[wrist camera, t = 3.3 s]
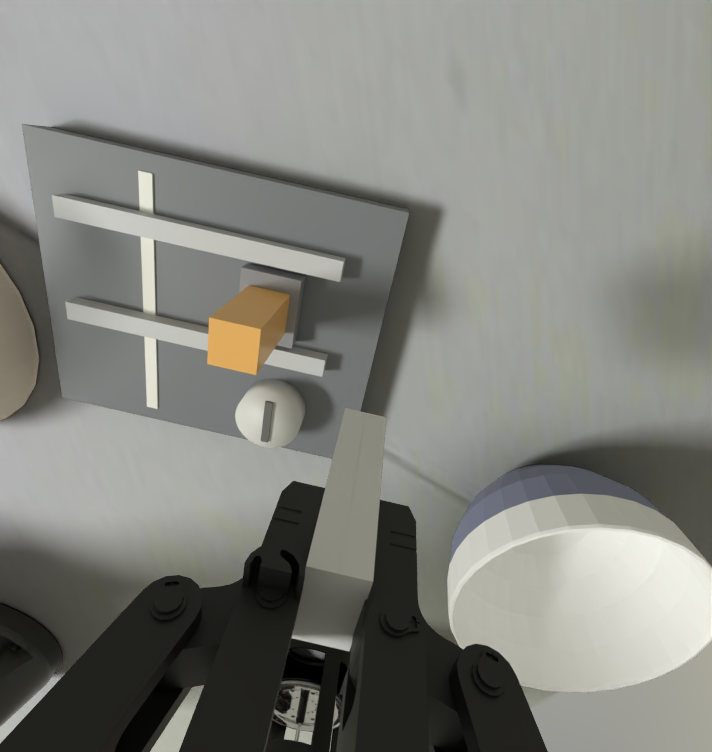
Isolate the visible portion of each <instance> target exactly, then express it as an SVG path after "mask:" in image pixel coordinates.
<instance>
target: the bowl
mask: <svg viewBox="0 0 712 752" xmlns="http://www.w3.org/2000/svg"><path fill="white" fill-rule="evenodd" d="M447 588H448V614H449V621H450V628H451V631H452V633H453V635H454V637H455V639H456V641H457V643H458V645H459V647H460V648H462V649H464V648H465V647H466V646H469V645H473V644H481V645H486V646H489V647H491V648H492V649H494V650H496V651H498V652H499V653H500V654H501V655H502V656H503V657H504V658H505V659H506V660H507V661H508V662H509V663H510V665H511V667H512V669H513V670H514V672H515V674H516V676H517V678H518V680H519V683H520V685H522V686H526V687H530V688H535V689H539V690H547V691H556V692H597V691H607V690H614V689H619V688H624V687H629V686H634V685H637V684H640V683H643V682H646V681H649V680H652V679H655V678H658V677H660V676H662V675H664V674H667V673H669V672H671V671H673V670H675V669H677V668H679V667H680V666H682V665H683V664H685V663H686V662H688V661H689V660H691V659H692V658H694V657H695V656H697V655H698V654H699V653H700V652H701V651H702V649H704V648H705V647H706V646H707V645H708V644H709V643H710V642H711V641H712V566H711V565H710V564H709V563H708V561H707V560H706V559H705V558H704V557H703V556H702V554H701V553H700V552H699V551H698V550H697V549H696V547H695V546H694V545H693V544H692V543H691V542H690V540H689V539H688V538H687V537H686V536H685V535H684V534H683V532H682V531H681V530H680V529H679V528H678V527H677V526H676V525H675V523H674V522H672V521H671V520H669V519H668V518H667V517H666V516H665V515H664V514H663V513H662V512H660V511H659V510H658V509H657V508H656V507H655V506H654V505H653V504H651V503H650V502H649V501H648V500H647V499H646V498H644V497H643V496H641V495H640V494H639V493H637V492H636V491H634V490H633V489H631V488H630V487H627V486H625V485H623V484H620V483H618V482H615V481H613V480H611V479H608V478H606V477H604V476H601V475H599V474H597V473H594V472H592V471H589V470H586V469H581V468H577V467H573V466H559V465H531V466H526V467H522V468H518V469H516V470H513V471H511V472H508V473H506V474H505V475H503V476H501V477H500V478H498V479H497V480H496V481H495V482H493V483H492V484H490V485H489V486H487V487H486V488H485V489H484V490H483V491H482V492H481V493H479V494H478V495H477V496H476V498H475V499H474V500H473V502H472V503H471V504H470V506H469V507H468V509H467V511H466V513H465V514H464V516H463V518H462V520H461V521H460V523H459V525H458V527H457V530H456V532H455V534H454V537H453V541H452V547H451V555H450V564H449V571H448V578H447Z"/></svg>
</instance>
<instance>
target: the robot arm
mask: <svg viewBox="0 0 712 752" xmlns="http://www.w3.org/2000/svg"><path fill="white" fill-rule="evenodd" d="M385 430H386V417H383V416H378V415H374V414H370V413H365V412H361V411H357V410H352V409H348V408H345V411H344V415H343V419H342V423H341V427H340V431H339V435H338V439H337V443H336V447H335V451H334V455H333V459H332V463H331V467H330V471H329V475H328V479H327V483H326V487H325V488H322V487H317V486H313V485H309V484H304V483H300V482H296V481H293V482H292V483H291V484H289V485H288V486H287V487H286V488H285V489H284V490H283V491H282V493H281V495H280V498H279V501H278V503H277V507H276V509H275V511H274V514H273V517H272V520H271V522H270V525H269V527H268V530H267V533H266V535H265V538H264V541H263V543H262V546H261V547H259V548H258V549H256V550H255V551H253V552H252V553H251V554H250V555H249V557H248V558H247V560H246V562H245V566H244V574H243V578H242V579H240V580H239V581H237V582H235V583H232V584H230V585H226V586H220V587H210V588H199V586H198V584H196V583H195V582H194V581H193V580H192V579H190V578H187V577H183V576H180V575H177V576H166V577H164V578H161V579H159V580H156V581H154V582H153V583H151V584H150V585H149V586H147V587H146V588H145V589H144V590H143V591H142V592H141V593H140V594H139V595H138V596H137V597H136V598H135V599H134V600H133V601H132V602H131V604H130V605H129V606H128V607H127V608H126V609H125V610H124V611H123V612H122V613H121V614H120V615H119V616H118V618H117V619H116V620H115V621H114V622H113V623H112V624H111V625H110V626H109V627H108V628H107V629H106V630H105V632H104V633H103V634H102V635H101V636H100V637H99V638H98V639H97V640H96V641H95V642H94V643H93V644H92V646H91V647H90V648H89V649H88V650H87V651H86V652H85V653H84V654H83V655H82V656H81V657H80V658H79V660H78V661H77V662H76V663H75V664H74V665H73V666H72V667H71V668H70V669H69V670H68V671H67V672H66V674H65V675H64V676H63V677H62V678H61V679H60V680H59V681H58V682H57V683H56V684H55V685H54V687H53V688H52V689H51V690H50V691H49V692H48V693H47V694H46V695H45V696H44V697H43V698H42V699H41V701H40V702H39V703H38V704H37V705H36V706H35V707H34V708H33V709H32V710H31V711H30V712H29V713H28V715H27V716H26V717H25V718H24V719H23V720H22V721H21V722H20V723H19V724H18V725H17V726H16V727H15V729H14V730H13V731H12V732H11V733H10V734H9V735H8V736H7V737H6V738H5V739H4V740H3V741H2V743H1V744H0V752H150V751H151V749H152V747H153V746H154V744H155V743H156V741H157V740H158V738H159V737H160V735H161V734H162V732H163V731H164V729H165V728H166V726H167V724H168V723H169V721H170V720H171V718H172V717H173V715H174V714H175V712H176V711H177V709H178V708H179V706H180V705H181V703H182V701H183V700H184V698H185V697H186V695H187V694H188V692H189V691H190V689H191V688H192V687H194V686H200V685H204V688H203V690H202V693H201V696H200V698H199V701H198V703H197V706H196V709H195V711H194V714H193V716H192V719H191V722H190V724H189V727H188V730H187V732H186V735H185V737H184V740H183V743H182V745H181V748H180V750H179V752H265V749H266V745H267V741H268V736H269V732H270V728H271V724H272V720H273V715H274V711H275V707H276V703H277V699H278V694H279V690H280V686H281V682H282V678H283V673H284V669H285V665H286V660H287V656H288V651H289V647H290V643H291V639H292V638H293V639H298V640H302V641H306V642H311V643H315V644H319V645H323V646H328V647H332V648H336V649H341V650H345V651H350V648H351V645H352V648H351V656H350V664H349V667H348V670H347V673H346V676H345V678H344V681H343V684H342V687H341V690H340V695H343V699H342V708H341V716H340V724H339V732H338V740H337V748H336V752H548V751H547V749H546V747H545V744H544V742H543V739H542V737H541V734H540V732H539V729H538V727H537V725H536V722H535V720H534V717H533V715H532V712H531V710H530V707H529V705H528V702H527V700H526V698H525V695H524V693H523V690H522V688H521V685H520V683H519V680H518V678H517V676H516V674H515V672H514V670H513V669H512V667H511V665H510V663H509V662H508V661H507V660H506V659H505V658H504V657H503V656H502V655H501V654H500V653H499V652H498V651H496V650H494V649H492V648H491V647H489V646H486V645H481V644H473V645H469V646H466V647H465V648H464V649H462V648H460V647H458V646H457V645H455V644H453V643H452V642H450V641H448V640H447V639H445V638H443V637H442V636H440V635H439V634H438V633H436V632H435V631H434V630H433V629H432V628H431V627H430V626H429V625H428V624H427V622H426V621H425V619H424V618H423V616H422V614H421V611H420V609H419V605H418V594H417V552H416V521H415V519H414V517H413V514H412V512H411V510H410V508H409V507H408V506H404V505H400V504H395V503H391V502H387V501H382V500H380V491H381V479H382V467H383V454H384V442H385ZM61 661H62V652H61V649H60V647H59V645H58V643H57V642H56V640H55V639H54V638H53V636H52V635H51V634H50V633H49V632H48V631H47V630H46V629H44V628H43V627H42V626H41V625H39V624H38V623H37V622H35V621H34V620H32V619H31V618H29V617H27V616H26V615H24V614H22V613H20V612H18V611H16V610H14V609H11V608H9V607H6V606H4V605H1V604H0V726H2V725H3V724H4V723H5V722H6V721H7V720H8V719H9V718H10V717H11V716H12V715H13V714H15V713H16V712H17V711H18V710H19V709H20V708H21V707H22V706H23V705H24V704H25V703H27V702H28V701H29V700H30V699H31V698H32V697H33V696H34V695H35V694H36V693H37V692H38V691H40V690H41V689H42V688H43V687H44V686H45V685H46V684H47V683H48V681H49V680H50V678H51V677H52V675H53V674H54V673H55V671H56V670H57V668H58V667H59V665H60V664H61Z"/></svg>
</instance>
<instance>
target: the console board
mask: <svg viewBox="0 0 712 752" xmlns="http://www.w3.org/2000/svg"><path fill="white" fill-rule="evenodd" d="M22 129H23V135H24V142H25V149H26V156H27V163H28V169H29V176H30V183H31V190H32V196H33V203H34V210H35V217H36V224H37V230H38V237H39V244H40V251H41V258H42V264H43V271H44V278H45V285H46V292H47V298H48V305H49V312H50V319H51V325H52V332H53V339H54V346H55V353H56V359H57V366H58V373H59V380H60V387H61V393H62V398H66V399H71V400H75V401H80V402H84V403H88V404H93V405H97V406H102V407H106V408H110V409H115V410H119V411H124V412H128V413H133V414H137V415H141V416H146V417H150V418H155V419H159V420H164V421H168V422H172V423H177V424H181V425H186V426H190V427H194V428H199V429H203V430H208V431H212V432H217V433H221V434H225V435H230V436H234V437H239V438H243V439H247V440H249V441H251V442H253V443H254V444H256V445H259V446H262V447H267V448H278V447H283V448H287V449H292V450H296V451H300V452H305V453H309V454H314V455H318V456H323V457H327V458H331V459H333V455H334V451H335V447H336V443H337V439H338V435H339V431H340V427H341V423H342V419H343V415H344V411H345V408H348V409H352V410H357V411H361V407H362V403H363V399H364V395H365V391H366V387H367V383H368V379H369V375H370V371H371V366H372V362H373V358H374V354H375V350H376V346H377V342H378V338H379V334H380V330H381V326H382V322H383V318H384V314H385V310H386V306H387V301H388V297H389V293H390V289H391V285H392V281H393V277H394V273H395V269H396V265H397V261H398V257H399V253H400V249H401V245H402V241H403V237H404V232H405V228H406V224H407V220H408V216H409V209H405V208H401V207H397V206H392V205H388V204H384V203H379V202H375V201H371V200H366V199H362V198H357V197H353V196H349V195H344V194H340V193H336V192H331V191H327V190H323V189H318V188H314V187H309V186H305V185H301V184H296V183H292V182H288V181H283V180H279V179H275V178H270V177H266V176H261V175H257V174H253V173H248V172H244V171H240V170H235V169H231V168H227V167H222V166H218V165H213V164H209V163H205V162H200V161H196V160H192V159H187V158H183V157H178V156H174V155H170V154H165V153H161V152H157V151H152V150H148V149H144V148H139V147H135V146H130V145H126V144H122V143H117V142H113V141H109V140H104V139H100V138H96V137H91V136H87V135H82V134H78V133H74V132H69V131H65V130H61V129H56V128H52V127H46V126H35V125H25V124H22ZM247 263H248V264H252V265H257V266H261V267H265V268H270V269H274V270H279V271H283V272H287V273H292V274H296V275H300V276H305V282H304V289H303V296H302V302H301V309H300V316H299V323H298V330H297V336H296V342H295V344H294V346H293V347H292V349H291V348H286V347H282V346H278V345H277V346H276V347H275V348H274V350H273V351H272V353H271V354H270V356H269V357H268V359H267V360H266V362H265V363H264V365H263V366H262V367H261V369H260V370H259V372H258V373H257V375H253V374H249V373H244V372H240V371H236V370H231V369H227V368H222V367H218V366H214V365H209V364H207V357H208V332H209V317H210V316H212V315H213V314H214V313H215V312H216V311H218V310H219V309H220V308H221V307H223V306H224V305H225V304H226V303H228V302H229V301H230V300H231V299H233V298H234V297H235V296H236V295H238V294H239V289H240V275H241V267H242V266H244V265H246V264H247Z"/></svg>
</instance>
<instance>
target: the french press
mask: <svg viewBox="0 0 712 752" xmlns="http://www.w3.org/2000/svg"><path fill="white" fill-rule="evenodd" d="M294 648H304V649H312V650H317V651H320V652H324V653H325V659H324V662H322V663H319V662H311V661H307V660H303V659H301V658H299V657H297V656H295V655H293V654H292V653H291V652H290V651H288V656H287V660H286V665H285V669H284V673H283V678H282V682H281V686H280V690H279V694H278V699H277V703H276V707H275V711H274V715H273V720H272V724H271V728H270V732H269V736H268V741H267V745H266V749H265V752H329V749H330V741H331V733H332V729H333V733H332V741H331V749H330V752H336V748H337V740H338V732H339V724H340V716H341V708H342V699H343V695H340V690H341V687H342V684H343V681H344V678H345V676H346V673H347V670H348V667H349V664H350V656H351V648H352V645H351V648H350V651H345V650H341V649H336V648H332V647H328V646H323V645H319V644H315V643H311V642H306V641H302V640H298V639H293V638H292V639H291V643H290V647H289V649H294ZM286 727H289V728H292V729H296V735H295V740H294V741H292V740H284V735H285V731H286ZM300 730H301V731H310V732H313V735H312V742H311V745H309V744H305V743H302V742H298V740H299V734H300Z"/></svg>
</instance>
